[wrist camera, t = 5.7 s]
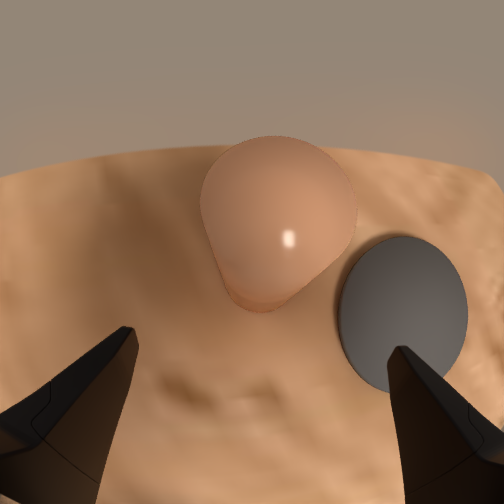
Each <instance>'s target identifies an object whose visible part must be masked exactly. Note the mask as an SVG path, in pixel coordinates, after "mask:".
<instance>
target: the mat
mask: <svg viewBox="0 0 504 504" xmlns="http://www.w3.org/2000/svg"><path fill="white" fill-rule="evenodd" d="M467 323H468V306H467V298H466V294H465V290H464V286H463V283H462V281H461V278H460V276H459V274H458V272H457V270H456V269H455V267H454V265H453V264H452V263H451V261H450V260H449V259H448V258H447V257H446V256H445V254H444V253H443V252H441V251H440V250H439V249H438V248H436V247H435V246H433V245H432V244H430V243H428V242H426V241H424V240H421V239H418V238H413V237H396V238H391V239H388V240H385V241H383V242H381V243H379V244H377V245H376V246H374V247H373V248H372V249H370V250H369V251H368V252H366V253H365V254H364V255H363V256H362V257H361V258H360V259H359V260H358V261H357V263H356V264H355V265H354V267H353V268H352V270H351V271H350V273H349V275H348V277H347V279H346V281H345V284H344V286H343V290H342V293H341V297H340V303H339V311H338V325H339V334H340V339H341V343H342V346H343V349H344V352H345V354H346V357H347V359H348V361H349V363H350V364H351V366H352V367H353V369H354V370H355V371H356V373H357V374H358V375H359V376H360V377H361V378H362V379H363V380H364V381H366V382H367V383H368V384H370V385H371V386H373V387H375V388H377V389H379V390H382V391H385V392H388V393H390V391H389V382H388V373H387V361H388V359H389V357H390V355H391V354H392V352H393V350H394V348H395V347H396V346H400V345H406V346H408V347H409V348H410V349H411V350H413V351H414V352H415V353H416V354H417V355H418V356H419V357H420V358H421V359H423V360H424V361H425V362H426V363H427V364H428V365H429V366H430V367H431V368H432V369H433V370H435V371H436V372H437V373H438V374H439V375H440V376H441V377H442V378H443V377H444V376H445V375H446V373H447V372H448V371H449V370H450V369H451V367H452V366H453V364H454V363H455V361H456V359H457V358H458V356H459V354H460V351H461V349H462V346H463V343H464V340H465V336H466V331H467Z"/></svg>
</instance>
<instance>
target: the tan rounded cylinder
mask: <svg viewBox="0 0 504 504" xmlns="http://www.w3.org/2000/svg"><path fill="white" fill-rule="evenodd" d="M200 211H201V217H202V220H203V224H204V227H205V230H206V233H207V236H208V239H209V242H210V244H211V247H212V250H213V253H214V256H215V259H216V261H217V264H218V267H219V270H220V273H221V275H222V278H223V281H224V283H225V286H226V289H227V291H228V294H229V295H230V297H231V298H232V300H233V301H234V302H235V303H236V304H237V305H239V306H240V307H242V308H243V309H245V310H248V311H251V312H256V313H265V312H270V311H273V310H275V309H277V308H279V307H280V306H282V305H283V304H284V303H285V302H287V301H288V300H289V299H290V298H292V297H293V296H294V295H295V294H296V293H297V292H299V291H300V290H301V289H302V288H303V287H305V286H306V285H307V284H308V283H309V282H310V281H312V280H313V279H314V278H315V277H316V276H317V275H319V274H320V273H321V272H322V271H323V270H324V269H325V268H327V267H328V266H329V265H330V264H331V263H332V262H333V261H334V260H335V259H337V258H338V257H339V256H340V255H341V254H342V252H343V251H344V250H345V249H346V247H347V246H348V244H349V242H350V240H351V239H352V236H353V233H354V231H355V227H356V222H357V201H356V196H355V192H354V190H353V187H352V184H351V182H350V180H349V178H348V177H347V175H346V174H345V172H344V171H343V169H342V168H341V167H340V166H339V164H338V163H337V162H336V161H335V160H334V159H333V158H332V157H330V156H329V155H328V154H327V153H325V152H324V151H322V150H321V149H319V148H317V147H316V146H314V145H311V144H309V143H307V142H304V141H301V140H298V139H294V138H290V137H282V136H265V137H258V138H254V139H250V140H247V141H244V142H242V143H240V144H237V145H235V146H234V147H232V148H230V149H229V150H227V151H226V152H225V153H224V154H222V155H221V156H220V157H219V158H218V159H217V160H216V161H215V162H214V164H213V165H212V167H211V168H210V169H209V171H208V173H207V175H206V177H205V179H204V182H203V185H202V189H201V194H200Z"/></svg>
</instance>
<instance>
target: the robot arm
mask: <svg viewBox="0 0 504 504" xmlns="http://www.w3.org/2000/svg"><path fill="white" fill-rule="evenodd" d="M138 350H139V344H138V340H137V336H136V333H135V330H134V328H132V327H127V326H122V327H120V328H119V329H118V330H116V331H115V332H113V333H112V334H111V335H109V336H108V337H107V338H105V339H104V340H103V341H101V342H100V343H99V344H97V345H96V346H95V347H93V348H92V349H91V350H89V351H88V352H87V353H85V354H84V355H83V356H81V357H80V358H79V359H78V360H76V361H75V362H74V363H72V364H71V365H70V366H68V367H67V368H66V369H64V370H63V371H62V372H60V373H59V374H58V375H57V376H55V377H54V378H53V379H51V381H49V382H47V383H46V384H45V385H43V386H42V387H41V388H39V389H38V390H37V391H35V392H34V393H32V394H31V395H29V396H28V397H26V398H25V399H23V400H22V401H20V402H18V403H17V404H15V405H14V406H12V407H10V408H9V409H7V410H5V411H4V412H2V413H1V414H0V504H95V503H96V499H97V495H98V491H99V487H100V485H99V484H100V482H101V479H102V475H103V471H104V468H105V464H106V461H107V457H108V454H109V450H110V447H111V444H112V440H113V437H114V434H115V431H116V427H117V424H118V421H119V418H120V415H121V412H122V409H123V406H124V403H125V400H126V397H127V394H128V391H129V388H130V384H131V380H132V376H133V371H134V367H135V363H136V358H137V354H138ZM387 373H388V382H389V391H390V400H391V406H392V412H393V417H394V422H395V428H396V433H397V439H398V446H399V452H400V459H401V466H402V474H403V483H404V493H405V504H504V432H502V431H501V430H500V429H499V428H497V427H496V426H495V425H494V424H492V423H491V422H490V421H489V420H488V419H486V418H485V417H484V416H483V415H482V414H481V413H479V412H478V411H477V410H476V409H475V408H474V407H473V406H472V405H471V404H470V403H468V401H467V400H466V399H465V398H464V397H462V396H461V395H460V394H459V393H458V392H457V391H456V390H455V389H454V388H453V387H452V386H451V385H450V384H449V383H448V382H446V381H445V380H444V379H443V378H442V377H441V376H440V375H439V374H438V373H437V372H436V371H435V370H433V369H432V368H431V367H430V366H429V365H428V364H427V363H426V362H425V361H424V360H423V359H421V358H420V357H419V356H418V355H417V354H416V353H415V352H414V351H413V350H411V349H410V348H409V347H408V346H406V345H400V346H396V347H395V348H394V350H393V352H392V354H391V355H390V357H389V359H388V361H387Z"/></svg>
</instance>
